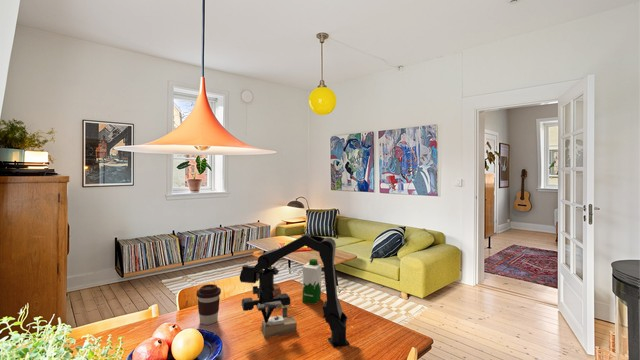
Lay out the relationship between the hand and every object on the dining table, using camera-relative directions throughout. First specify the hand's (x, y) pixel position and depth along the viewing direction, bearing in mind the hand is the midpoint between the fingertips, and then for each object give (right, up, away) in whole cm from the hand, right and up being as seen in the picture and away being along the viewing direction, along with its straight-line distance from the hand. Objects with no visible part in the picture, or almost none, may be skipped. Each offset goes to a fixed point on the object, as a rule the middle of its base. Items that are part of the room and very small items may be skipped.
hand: (265, 322), depth 130 cm
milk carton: (+17, -4, +33) cm, 37 cm away
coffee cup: (-26, -4, +10) cm, 28 cm away
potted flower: (-2, -3, +37) cm, 37 cm away
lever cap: (+4, -1, +1) cm, 4 cm away
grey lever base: (+4, -4, +5) cm, 8 cm away
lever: (+1, +2, +11) cm, 11 cm away
